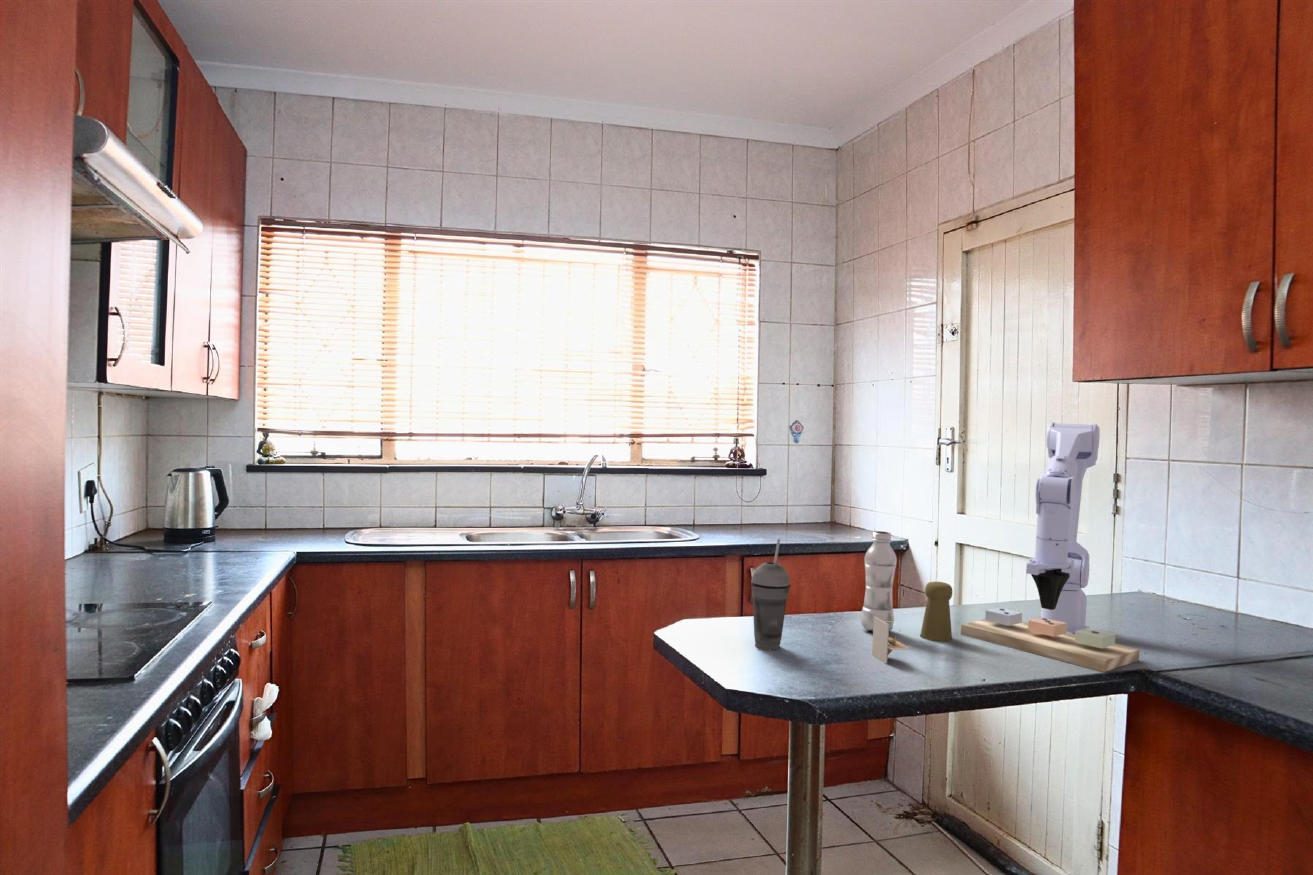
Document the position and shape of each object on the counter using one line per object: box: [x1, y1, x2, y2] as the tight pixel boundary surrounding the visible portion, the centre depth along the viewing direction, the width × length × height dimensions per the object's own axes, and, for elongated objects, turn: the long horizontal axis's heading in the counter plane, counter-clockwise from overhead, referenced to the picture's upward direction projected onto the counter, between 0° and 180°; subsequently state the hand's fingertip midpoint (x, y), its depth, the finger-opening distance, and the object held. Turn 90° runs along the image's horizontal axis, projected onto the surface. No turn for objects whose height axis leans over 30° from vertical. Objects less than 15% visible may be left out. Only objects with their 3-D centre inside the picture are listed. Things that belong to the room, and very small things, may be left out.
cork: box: [919, 581, 954, 643], centre depth 164 cm, size 6×6×11 cm
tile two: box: [984, 607, 1023, 626], centre depth 168 cm, size 5×5×2 cm
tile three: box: [1027, 616, 1067, 637], centre depth 161 cm, size 5×5×2 cm
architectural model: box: [871, 617, 909, 665], centre depth 147 cm, size 3×7×7 cm, turn 11°
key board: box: [960, 618, 1141, 673], centre depth 161 cm, size 14×28×2 cm, turn 38°
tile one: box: [1074, 628, 1116, 649], centre depth 154 cm, size 5×5×2 cm
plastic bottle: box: [860, 530, 898, 632], centre depth 167 cm, size 6×7×20 cm
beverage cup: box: [750, 538, 791, 651], centre depth 152 cm, size 7×7×20 cm
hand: (1048, 608), depth 161 cm, fingers closed
